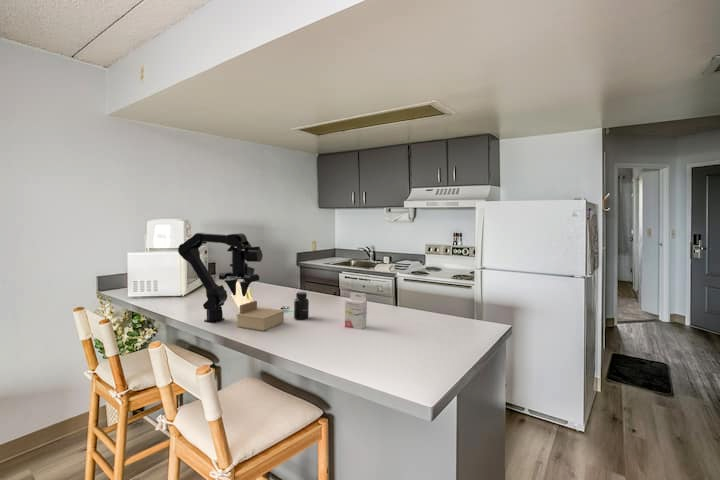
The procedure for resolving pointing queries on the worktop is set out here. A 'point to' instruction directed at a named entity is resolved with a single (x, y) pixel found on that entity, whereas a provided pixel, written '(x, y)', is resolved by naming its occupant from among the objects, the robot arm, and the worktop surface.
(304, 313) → the supplement bottle
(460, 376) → the worktop surface
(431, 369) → the worktop surface
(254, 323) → the mailer box
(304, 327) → the worktop surface
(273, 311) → the lid
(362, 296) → the ink cartridge box
